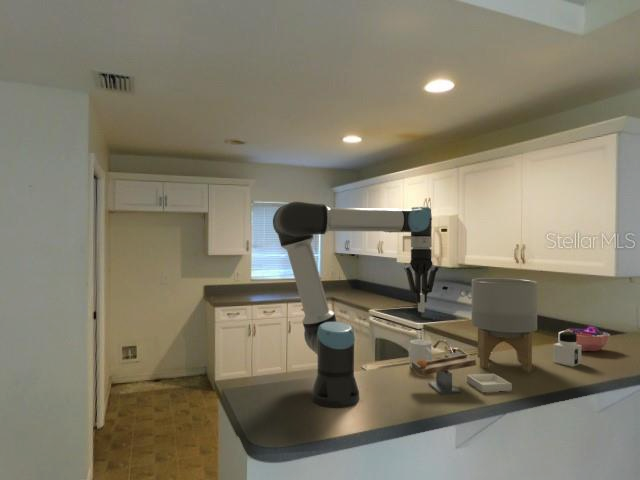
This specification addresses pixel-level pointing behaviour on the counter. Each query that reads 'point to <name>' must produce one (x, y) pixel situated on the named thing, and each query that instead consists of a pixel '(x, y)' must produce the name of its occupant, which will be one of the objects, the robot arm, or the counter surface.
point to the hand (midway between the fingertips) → (421, 311)
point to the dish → (489, 383)
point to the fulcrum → (444, 383)
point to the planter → (504, 316)
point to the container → (567, 349)
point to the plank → (444, 364)
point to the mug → (420, 351)
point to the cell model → (590, 338)
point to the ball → (422, 363)
